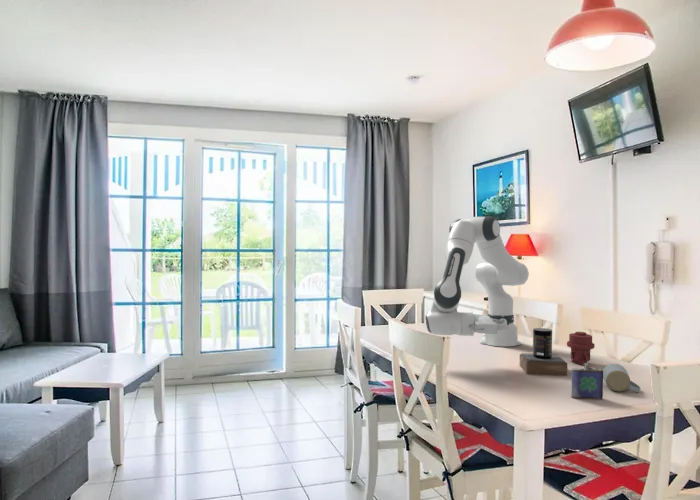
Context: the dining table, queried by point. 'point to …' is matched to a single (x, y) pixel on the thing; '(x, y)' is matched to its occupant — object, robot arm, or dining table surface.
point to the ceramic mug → (618, 378)
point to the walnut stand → (543, 365)
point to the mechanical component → (580, 347)
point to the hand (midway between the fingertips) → (505, 324)
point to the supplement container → (542, 343)
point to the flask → (587, 383)
